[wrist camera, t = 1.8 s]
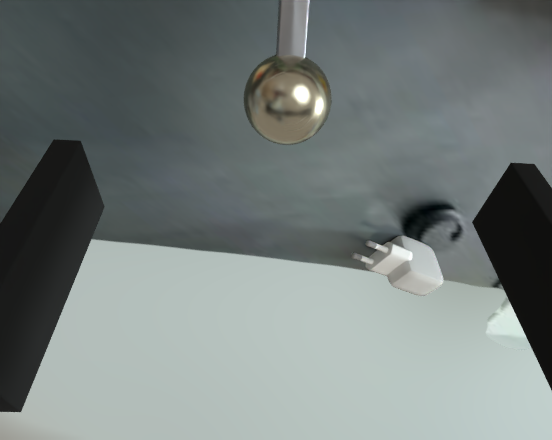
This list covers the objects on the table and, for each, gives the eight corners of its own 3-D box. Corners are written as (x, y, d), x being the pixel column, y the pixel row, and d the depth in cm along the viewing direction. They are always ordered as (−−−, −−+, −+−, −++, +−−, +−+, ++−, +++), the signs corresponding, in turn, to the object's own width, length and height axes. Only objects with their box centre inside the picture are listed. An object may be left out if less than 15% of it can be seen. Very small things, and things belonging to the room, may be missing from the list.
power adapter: (342, 237, 48) (348, 277, 44) (367, 214, 45) (377, 254, 41) (409, 263, 52) (421, 302, 48) (436, 243, 49) (451, 282, 45)
